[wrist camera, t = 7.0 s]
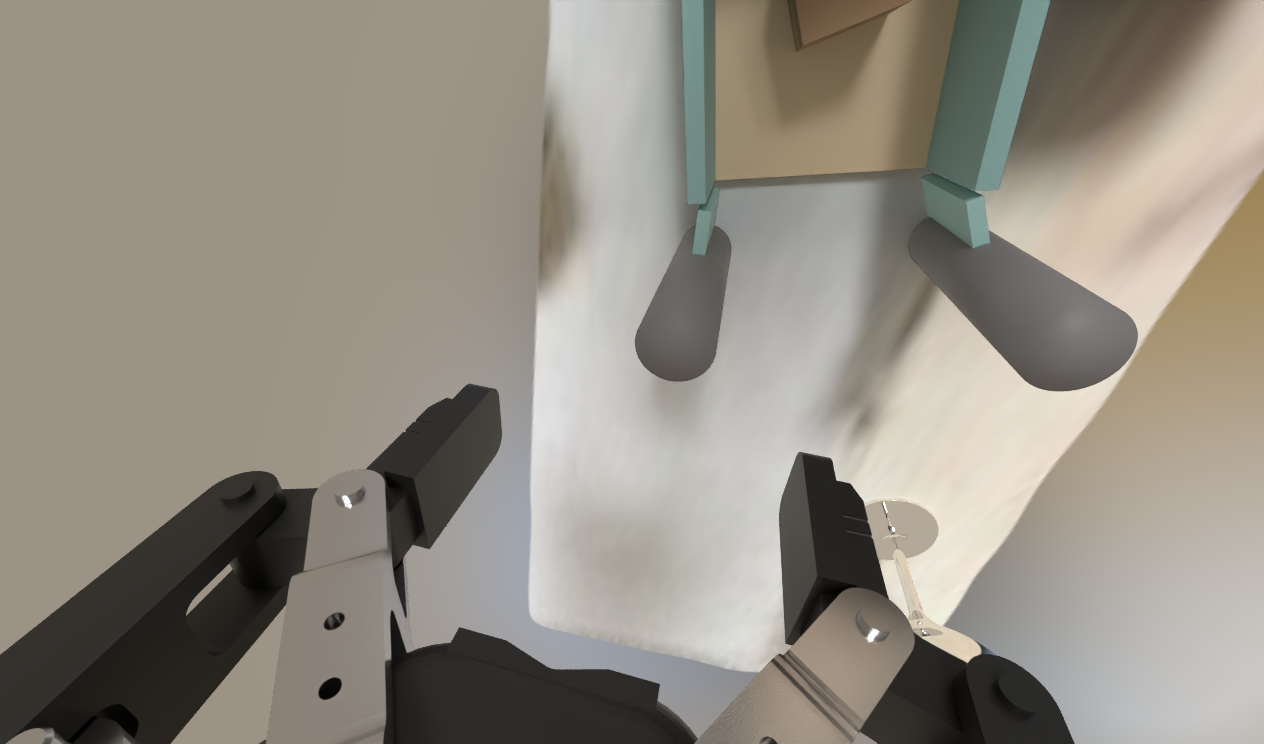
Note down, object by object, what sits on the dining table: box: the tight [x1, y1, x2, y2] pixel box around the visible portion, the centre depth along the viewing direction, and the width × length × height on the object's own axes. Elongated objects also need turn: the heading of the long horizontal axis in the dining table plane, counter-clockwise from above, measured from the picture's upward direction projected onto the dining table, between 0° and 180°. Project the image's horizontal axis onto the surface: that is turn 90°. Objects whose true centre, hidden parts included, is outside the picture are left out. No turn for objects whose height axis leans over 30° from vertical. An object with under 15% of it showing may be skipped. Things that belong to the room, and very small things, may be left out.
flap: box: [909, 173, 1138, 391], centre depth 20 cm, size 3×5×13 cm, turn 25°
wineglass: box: [865, 499, 997, 744], centre depth 29 cm, size 8×8×18 cm
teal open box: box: [681, 0, 1051, 205], centre depth 19 cm, size 14×12×7 cm
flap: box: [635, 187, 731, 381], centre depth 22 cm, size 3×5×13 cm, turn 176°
